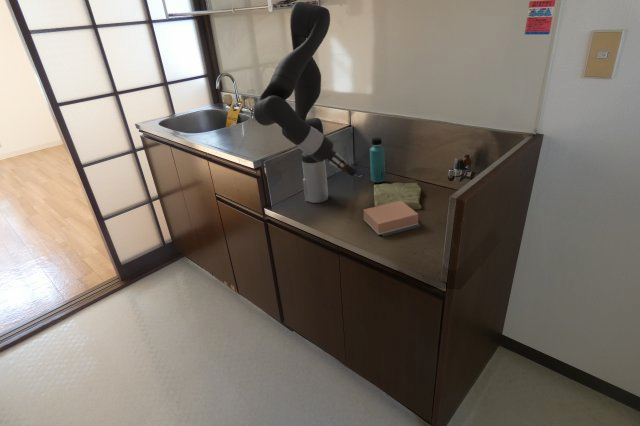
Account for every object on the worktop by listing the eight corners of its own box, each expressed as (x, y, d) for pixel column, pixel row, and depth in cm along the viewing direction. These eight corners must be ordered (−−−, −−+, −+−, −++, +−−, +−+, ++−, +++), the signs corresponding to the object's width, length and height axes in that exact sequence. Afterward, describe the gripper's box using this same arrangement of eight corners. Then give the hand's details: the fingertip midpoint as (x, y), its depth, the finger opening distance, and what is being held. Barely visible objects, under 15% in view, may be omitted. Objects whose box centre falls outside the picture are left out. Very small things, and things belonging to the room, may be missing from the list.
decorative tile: (374, 212, 146) (374, 204, 144) (373, 190, 163) (373, 182, 162) (425, 210, 143) (425, 202, 142) (418, 188, 161) (418, 180, 159)
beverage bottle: (382, 186, 165) (380, 141, 156) (368, 184, 168) (366, 140, 159) (388, 180, 170) (387, 136, 160) (374, 179, 173) (372, 135, 164)
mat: (382, 236, 129) (382, 234, 129) (366, 219, 140) (366, 217, 140) (419, 226, 132) (419, 224, 132) (401, 211, 143) (401, 209, 143)
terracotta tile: (378, 224, 127) (418, 214, 130) (363, 209, 137) (400, 200, 141) (378, 234, 129) (418, 224, 132) (363, 219, 139) (400, 210, 143)
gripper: (329, 139, 108) (370, 170, 117) (314, 128, 119) (353, 158, 128) (313, 160, 109) (355, 190, 118) (300, 147, 121) (339, 176, 129)
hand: (353, 173), depth 123 cm, fingers closed
